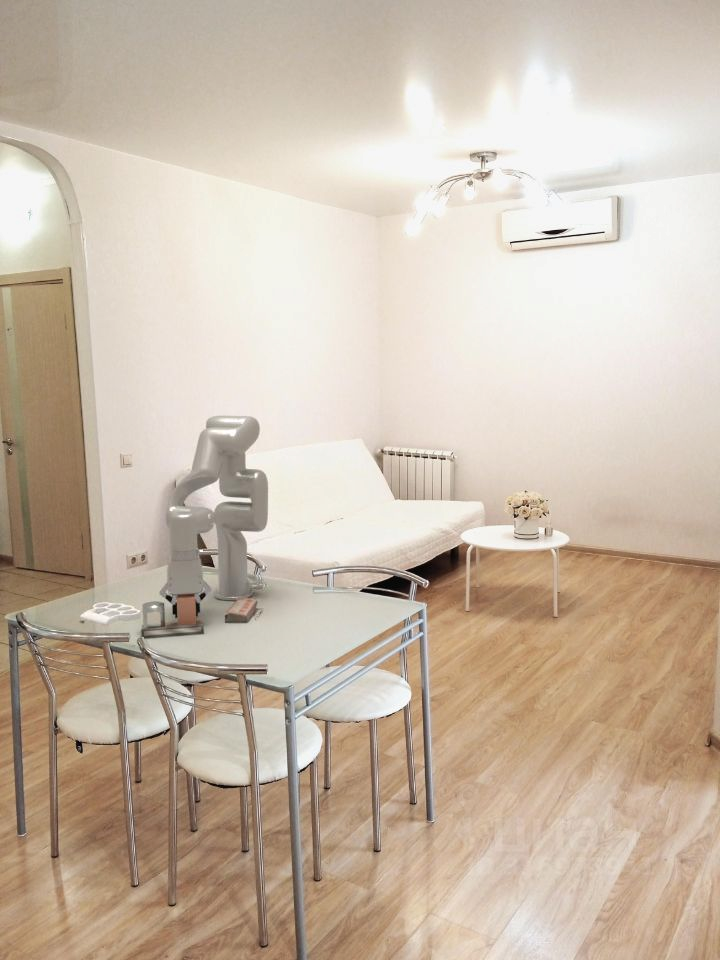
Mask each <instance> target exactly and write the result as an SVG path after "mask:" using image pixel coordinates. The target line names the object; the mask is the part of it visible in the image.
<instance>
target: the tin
mask: <svg viewBox="0 0 720 960" xmlns="http://www.w3.org/2000/svg"><path fill="white" fill-rule="evenodd" d="M165 611H166V610H165V602H163V601H159V600H158V601H148V602H144V603H143V604H142V625H143V629H146V628H159V627H165V623H166V616H165V615H166V614H165Z"/></svg>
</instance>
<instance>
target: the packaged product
mask: <svg viewBox="0 0 720 960" xmlns="http://www.w3.org/2000/svg"><path fill="white" fill-rule="evenodd" d="M257 606H258V600H257V599H256V598H254V597H253V598H252V597H249V598H238V599H237V600H234V603H232V605H231V606H230V607H229V608H228V610H227V611H226V612H225V614H224V623H225V624H232V623H233V624H235V623H236V624H237V623H248V622H249V621H250V620H251V619H252V618H254V620H256V618H257V617H258V615H259V614H260V612H261V611H262V609H263V610H264V608H262V607H261V608H260V607H257ZM262 612H263V611H262ZM262 612H261V613H262ZM260 615H261V614H260ZM260 615H259V616H260ZM258 618H259V617H258ZM256 621H257V620H256Z"/></svg>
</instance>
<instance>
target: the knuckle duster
mask: <svg viewBox="0 0 720 960" xmlns="http://www.w3.org/2000/svg"><path fill="white" fill-rule="evenodd" d="M140 618H141V610H140V609H136V608H135V607H134V606H133V605H126V604H125V603H121V602H120V603H119V602H118V603H111V602H109V601H108V602H106V601H104V602H98V603H95V604H93V605H92V609H88V610H86V611H85V612H83V613H81V615H80V616H79V620H80V621H81V622H84V623H85V621H88V622H92V623H95V624H100V625H104V626H107V625H110V624H113V623H116V622H119V621H127V622H129V621H135V620H138V619H140Z"/></svg>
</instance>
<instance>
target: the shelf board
mask: <svg viewBox="0 0 720 960" xmlns="http://www.w3.org/2000/svg"><path fill="white" fill-rule="evenodd" d="M140 630H141V631H140V635H141V638H142V637H144V638H145V639H155V638H156V639H157V638H168V637H170V638H171V637H180V636H193V635H194V636H195V635H204V634H205V632H204V631H205V626H204V624H203V621H202V620H196V625H185V626H178V621H177V622H176V621H175V622H165V627H159V628H146V629H143V624H142V625H141V629H140Z"/></svg>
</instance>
